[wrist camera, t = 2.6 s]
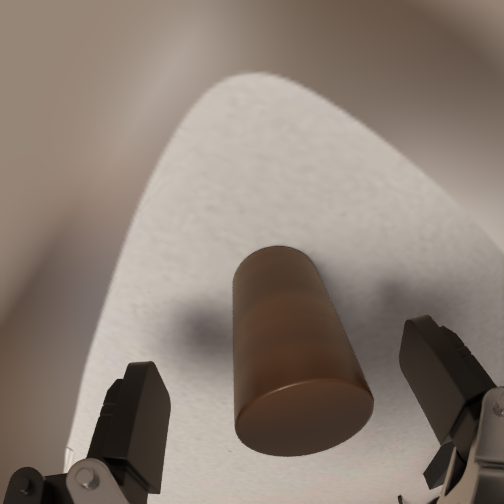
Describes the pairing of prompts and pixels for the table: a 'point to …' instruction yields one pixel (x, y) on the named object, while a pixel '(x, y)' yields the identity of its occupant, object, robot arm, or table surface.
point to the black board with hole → (439, 466)
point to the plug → (292, 359)
